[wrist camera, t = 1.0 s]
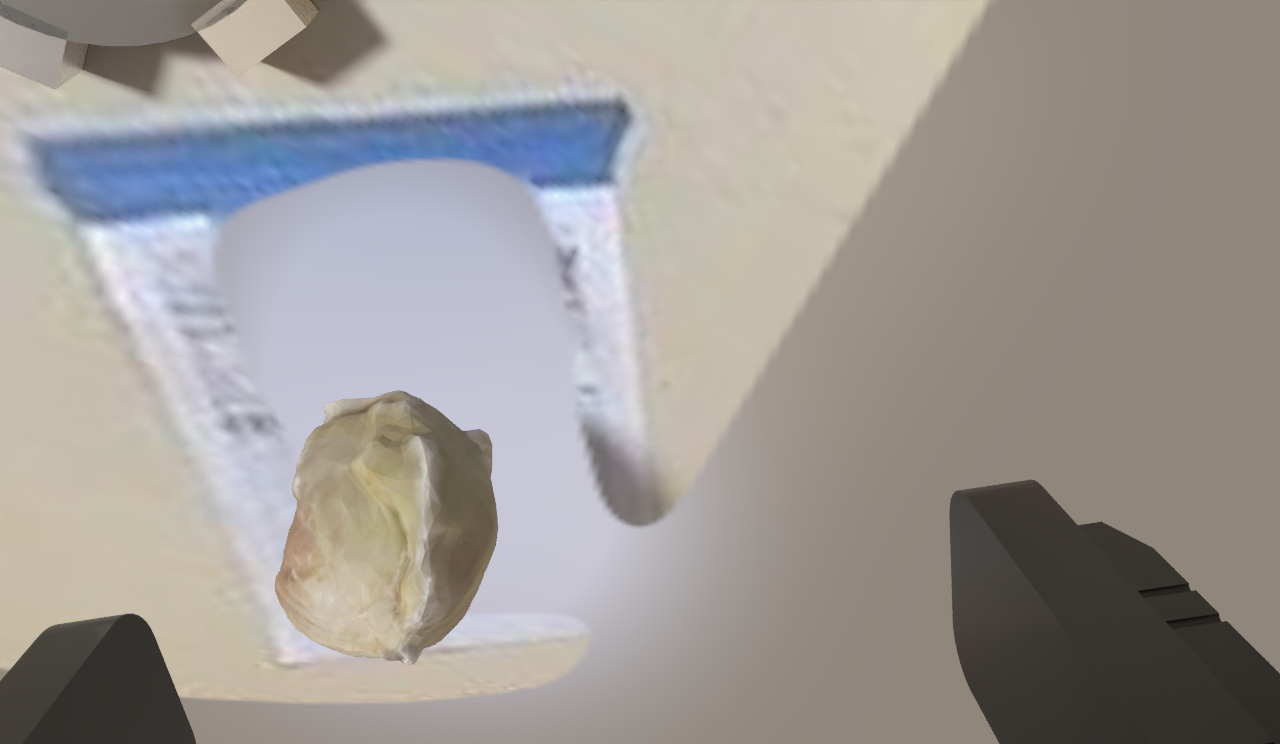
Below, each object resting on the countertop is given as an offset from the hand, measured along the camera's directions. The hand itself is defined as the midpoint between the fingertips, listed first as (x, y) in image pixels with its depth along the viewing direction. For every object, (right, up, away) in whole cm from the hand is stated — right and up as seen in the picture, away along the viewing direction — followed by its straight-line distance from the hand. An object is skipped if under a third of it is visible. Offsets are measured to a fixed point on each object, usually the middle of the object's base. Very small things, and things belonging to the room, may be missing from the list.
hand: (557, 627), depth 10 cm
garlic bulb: (-9, -1, +29) cm, 31 cm away
